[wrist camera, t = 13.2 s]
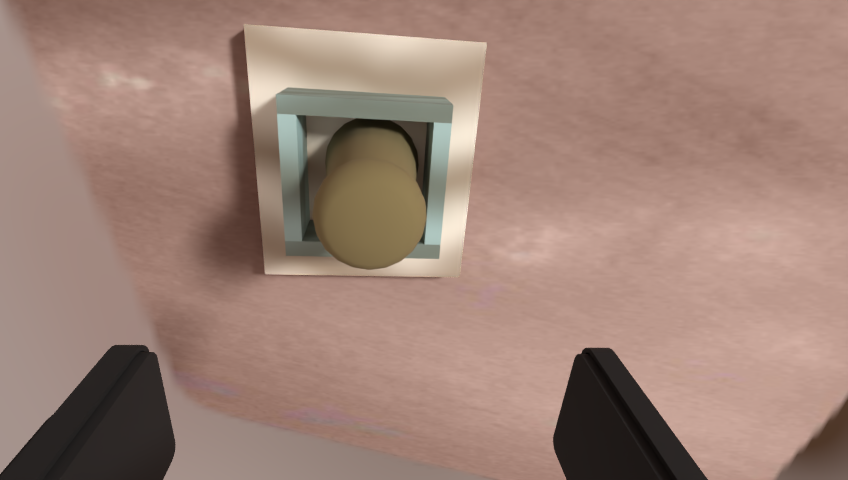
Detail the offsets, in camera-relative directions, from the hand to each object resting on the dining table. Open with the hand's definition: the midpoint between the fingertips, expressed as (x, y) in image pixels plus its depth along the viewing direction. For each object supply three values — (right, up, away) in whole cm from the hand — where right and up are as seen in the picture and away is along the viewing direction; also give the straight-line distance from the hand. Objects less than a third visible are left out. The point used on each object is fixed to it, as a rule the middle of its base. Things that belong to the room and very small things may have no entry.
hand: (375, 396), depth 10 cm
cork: (-2, +9, +19) cm, 21 cm away
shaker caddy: (-3, +9, +20) cm, 22 cm away
